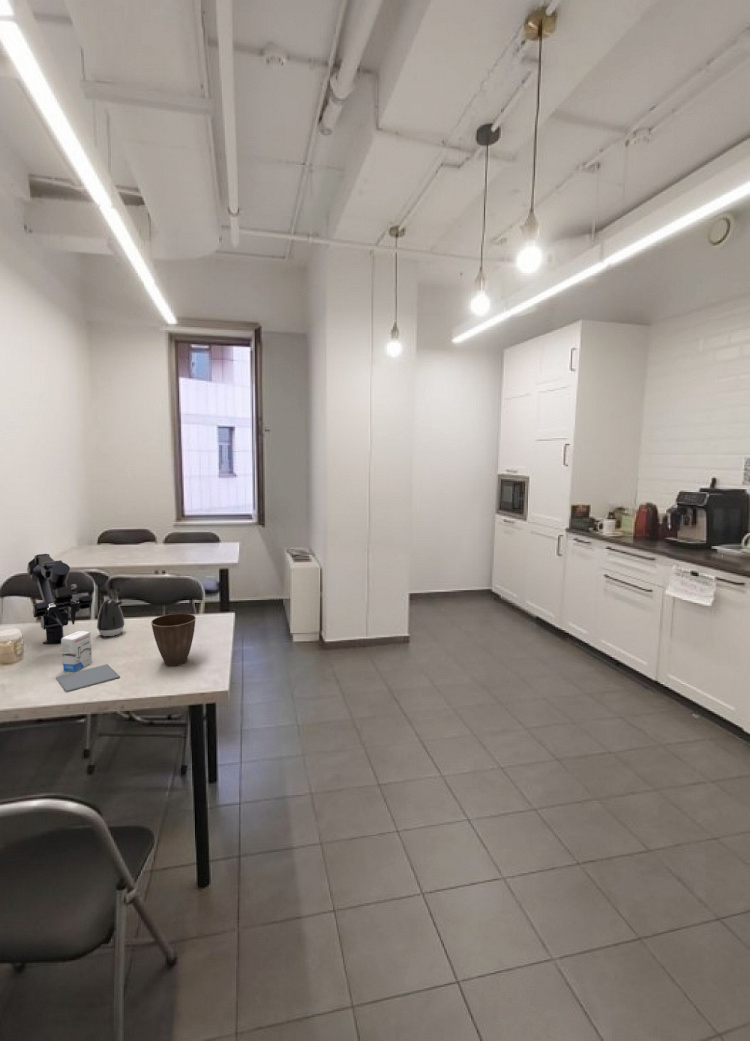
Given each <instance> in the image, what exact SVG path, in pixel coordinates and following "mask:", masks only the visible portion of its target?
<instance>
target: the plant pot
mask: <svg viewBox="0 0 750 1041" xmlns="http://www.w3.org/2000/svg"><path fill="white" fill-rule="evenodd" d="M196 618H197V617H196V616H195V615H194V614H190V613H170V614H164V615H161V616H159V617H155V618H154V619H152V620H151V629H152V632H153V637H154V640H155V642H156V647H157V649H158V652H159V654H160V657H161V658H162V660H163V662H164V664H165V665H166V666H169V667H170V666H171V667H173V666H180V665H183V664H184V663H186V662H187V661H188V659H189V655H190V653H191V652H190V651H191V648H192V644H193V639H194V634H195V627H196Z"/></svg>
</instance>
